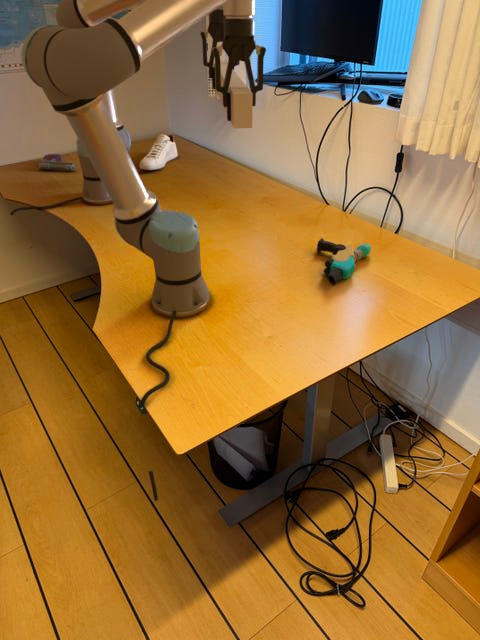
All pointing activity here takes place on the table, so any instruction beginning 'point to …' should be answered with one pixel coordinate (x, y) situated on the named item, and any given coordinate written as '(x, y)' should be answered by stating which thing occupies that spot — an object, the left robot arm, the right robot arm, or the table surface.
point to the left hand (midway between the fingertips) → (221, 88)
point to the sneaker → (160, 153)
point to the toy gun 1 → (55, 163)
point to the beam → (237, 99)
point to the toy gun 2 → (341, 259)
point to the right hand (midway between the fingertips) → (239, 119)
